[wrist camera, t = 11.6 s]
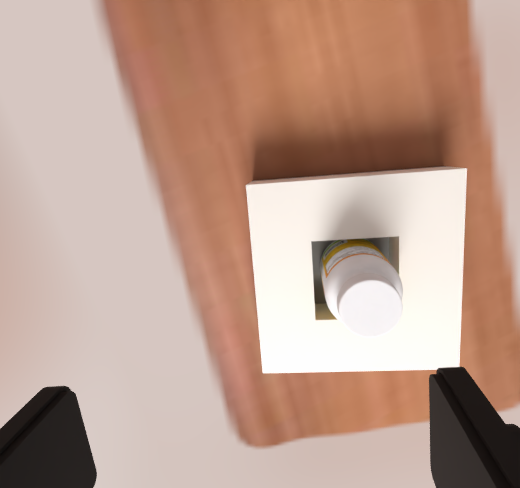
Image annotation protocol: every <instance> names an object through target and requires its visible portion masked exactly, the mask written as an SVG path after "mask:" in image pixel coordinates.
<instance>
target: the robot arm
mask: <svg viewBox="0 0 520 488" xmlns="http://www.w3.org/2000/svg"><path fill="white" fill-rule="evenodd" d="M429 397H430V454H431V455H430V459H431V460H430V461H431V471H432V476H433V480H434V483H435V486H436V488H520V428H519V427H518V426H516V425H514V424H505V423H504V421H503V420H502V419H501V417H500V416H499V415H498V413H497V412H496V410H495V409H494V408H493V406H492V405H491V404H490V402H489V401H488V399H487V398H486V397H485V395H484V394H483V393H482V391H481V390H480V388H479V387H478V386H477V384H476V383H475V382H474V380H473V379H472V377H471V376H470V375H469V373H468V372H467V371H466V369H465V368H464V367H446V368H438V369H437V374H431V375H430V377H429ZM96 476H97V472H96V468H95V464H94V460H93V456H92V453H91V449H90V445H89V442H88V438H87V435H86V430H85V427H84V423H83V419H82V416H81V412H80V408H79V405H78V401H77V397H76V394H75V393H74V392H72V391H71V390H70V389H69V388H68V387H66V386H56V387H45V388H43V389H42V390H40V391H39V392H38V393H37V394H36V395H35V396H34V397H33V398H32V399H31V400H30V401H29V402H28V403H27V404H26V405H25V406H24V407H23V408H22V409H21V410H20V411H19V412H17V414H15V415H14V416H13V417H12V418H11V419H10V420H9V421H8V422H7V423H6V424H5V425H4V426H3V427H2V428H1V429H0V488H93V487H94V485H95V481H96Z"/></svg>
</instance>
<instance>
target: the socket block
mask: <svg viewBox="0 0 520 488" xmlns="http://www.w3.org/2000/svg"><path fill="white" fill-rule="evenodd" d="M466 179H467V168H459V167H449V166H437V167H423V168H410V169H397V170H384V171H371V172H358V173H345V174H332V175H319V176H306V177H293V178H280V179H267V180H254V181H251V182H250V183H248V184H247V185H246V191H247V203H248V214H249V225H250V236H251V247H252V259H253V270H254V281H255V292H256V303H257V314H258V326H259V337H260V348H261V359H262V370H263V373H299V372H346V371H394V370H437V369H438V368H446V367H459V362H460V336H461V310H462V283H463V257H464V231H465V205H466ZM362 238H364V239H367V240H369V241H370V242H372V243H373V244H374V245H375V246H376V247H377V248H378V249H379V250H380V251H381V253H382V254H383V255H384V256H385V258H386V259H387V260H388V261H389V263H390V264H391V265H392V266H393V267H394V269H395V270H396V271H397V273H398V275H399V277H400V279H401V282H402V286H403V297H402V305H403V310H402V315H401V318H400V320H399V322H398V324H397V325H396V326H395V327H394V328H393V329H392V330H391V331H390V332H388V333H386V334H384V335H382V336H379V337H373V338H368V337H362V336H358V335H356V334H354V333H352V332H351V331H349V330H348V329H347V328H346V327H345V326H344V324H343V323H342V322H340V321H339V320H338V319H337V318H336V317H335V316H334V315H333V314H332V313H331V311H330V309H329V308H328V305H327V302H326V299H325V295H324V289H323V283H322V278H321V273H320V262H321V258H322V255H323V253H324V251H325V250H326V248H327V247H328V246H329V245H330V244H331V243H333V242H334V241H336V240H345V239H362Z"/></svg>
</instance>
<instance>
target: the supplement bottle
mask: <svg viewBox="0 0 520 488" xmlns="http://www.w3.org/2000/svg"><path fill="white" fill-rule="evenodd" d="M320 273H321V278H322V283H323V289H324V295H325V299H326V302H327V305H328V308H329V309H330V311H331V313H332V314H333V315H334V316H335V317H336V318H337V319H338V320H339V321H340V322H342V323H343V324H344V326H345V327H346V328H347V329H348V330H349V331H351V332H352V333H354V334H356V335H358V336H362V337H368V338H373V337H379V336H382V335H384V334H386V333H388V332H390V331H391V330H392V329H393V328H394V327H395V326H396V325H397V324H398V322H399V320H400V318H401V315H402V310H403V305H402V297H403V286H402V282H401V279H400V277H399V275H398V273H397V271H396V270H395V269H394V267H393V266H392V265H391V264H390V263H389V261H388V260H387V259H386V258H385V256H384V255H383V254H382V253H381V251H380V250H379V249H378V248H377V247H376V246H375V245H374V244H373V243H372V242H370V241H369V240H367V239H364V238H362V239H345V240H336V241H334V242H333V243H331V244H330V245H329V246H328V247H327V248H326V250H325V251H324V253H323V255H322V258H321V262H320Z"/></svg>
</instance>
